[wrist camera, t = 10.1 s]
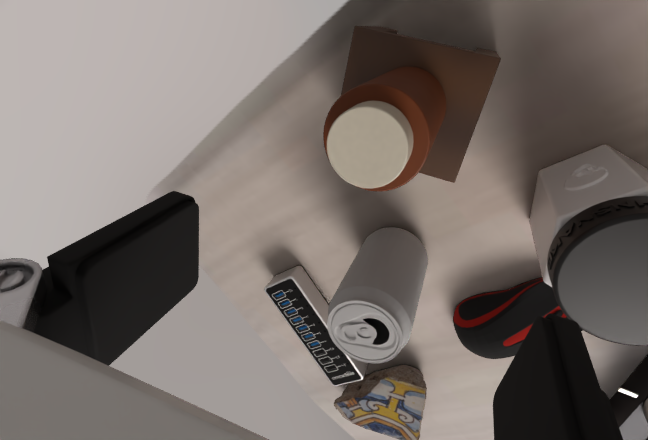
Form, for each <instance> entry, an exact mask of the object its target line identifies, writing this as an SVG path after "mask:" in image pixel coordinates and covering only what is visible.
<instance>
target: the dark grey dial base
mask: <svg viewBox="0 0 648 440" xmlns="http://www.w3.org/2000/svg"><path fill="white" fill-rule="evenodd" d="M647 399H648V355H647V356H646V358H645V359H644V360H643V361H642V362H641V364H640V365H639V366H638V367H637V368H636V370H635V371H634V372H633V373H632V374H631V375H630V377H629V378H628V379H627V380H626V381H625V383H624V384H623V385H622V386H621V387H620V388H619V389H618V391H617V392H616V393H615V395H614V396H613V397H612V398H611V399H610V403H611V406H612V409H613V412H614V415H615V418H616V420H617V423H618V426H619V429H620V432H621V435H622V437H623V440H648V423H647V421H646V419H645V416H644V414H643V405H644V403H645V401H646V400H647Z"/></svg>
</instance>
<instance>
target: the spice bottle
mask: <svg viewBox="0 0 648 440" xmlns="http://www.w3.org/2000/svg"><path fill="white" fill-rule="evenodd" d="M445 112H446V98H445V94H444V91H443V88H442V86H441V85H440V83H439V82H438V80H437V79H436V78H435V77H434V76H433V75H432V74H430V73H429V72H427V71H425V70H423V69H420V68H417V67H400V68H396V69H394V70H391V71H389V72H387V73H385V74H383V75H381V76H378V77H376V78H374V79H372V80H370V81H368V82H366V83H363V84H361V85H359V86H357V87H355V88H353V89H351V90H349V91H347V92H346V93H345V94H343V95H342V96H341V97H340V98H339V99H338V100H337V101H336V102H335V103H334V105H333V106H332V108H331V109H330V111H329V113H328V115H327V118H326V121H325V125H324V147H325V150H326V154H327V156H328V159H329V161H330V163H331V165H332V167H333V168H334V170H335V171H336V173H337V174H338V175H339V176H340V177H341V178H342V179H344V180H345V181H346V182H348V183H350V184H352V185H354V186H356V187H359V188H361V189H365V190H369V191H388V190H392V189H395V188H398V187H400V186H402V185H404V184H406V183H407V182H409V181H410V180H411V179H413V178H414V177H415V176H416V175H417V174H418V172H419V171H420V170H421V168H422V167H423V165H424V163H425V161H426V159H427V156H428V154H429V152H430V149H431V147H432V145H433V143H434V140H435V138H436V136H437V133H438V131H439V129H440V126H441V124H442V122H443V119H444V116H445Z"/></svg>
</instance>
